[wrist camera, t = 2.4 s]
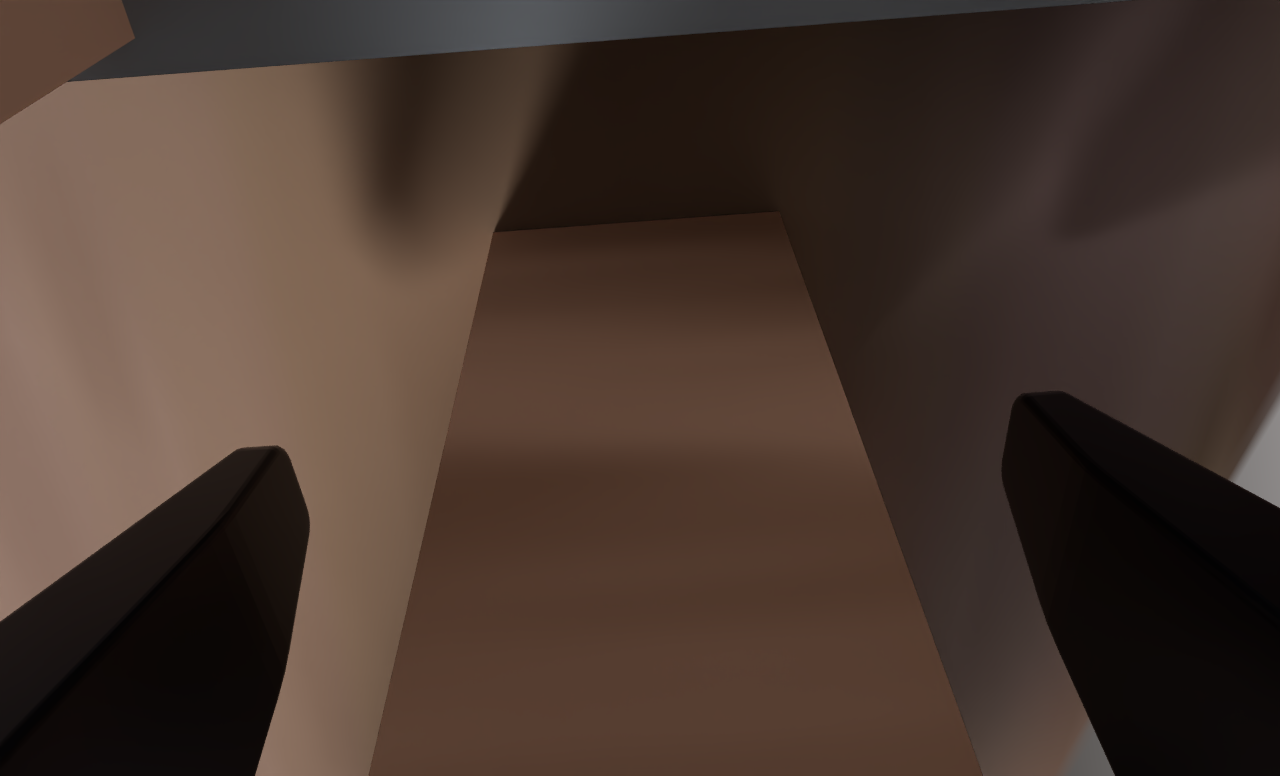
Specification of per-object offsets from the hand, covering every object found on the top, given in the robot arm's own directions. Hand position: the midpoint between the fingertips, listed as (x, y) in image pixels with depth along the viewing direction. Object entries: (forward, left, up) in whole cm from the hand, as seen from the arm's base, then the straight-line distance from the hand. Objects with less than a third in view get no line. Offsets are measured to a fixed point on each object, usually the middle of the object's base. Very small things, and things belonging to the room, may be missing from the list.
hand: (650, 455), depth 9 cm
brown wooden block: (0, 0, -2) cm, 2 cm away
